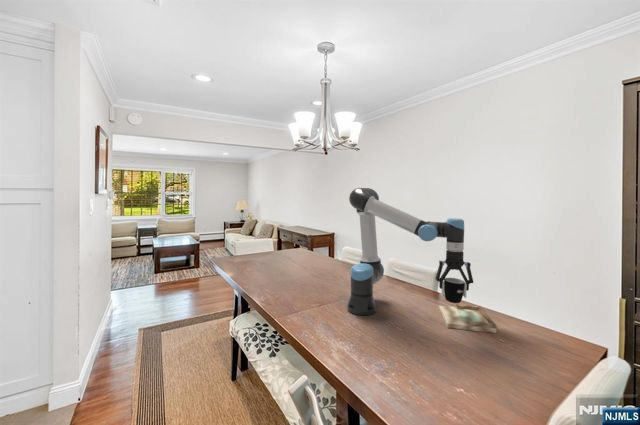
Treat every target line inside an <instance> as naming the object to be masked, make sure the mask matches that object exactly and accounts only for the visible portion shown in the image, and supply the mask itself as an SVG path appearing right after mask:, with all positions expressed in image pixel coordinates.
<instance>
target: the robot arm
mask: <svg viewBox="0 0 640 425" xmlns="http://www.w3.org/2000/svg"><path fill="white" fill-rule="evenodd" d="M348 200H349V203H350V206H352V207H353V208H354V209H355V210H356V214H358V215H359V223H360V224H359V226H360V239H361V240H360V242H361V252H362V256H361V258H360V260H359V263H356V264H354V265H353V266H351V268H350V295H349V299H348V301H347V306H346V308H347V311H348V312H349V313H351V314H354V315H357V316H371V315H373V314H375V313H376V312H377V305H376V302H375V298H374V285H375V284H376V283H377V282H380V280H382V278H383V276H384V274H385V267H384V265H383V264H382V261H381V260H382V259H381V258H380V257H379V256H378V255H379V254H378V241H377V226H376V217H378V218H380V219H381V220H383V221H387V223H390V224H392V225H394V226H397V227H399V228H401V229H403V230H405V231H407V232H409V233H411V234H413V235H416V236H417V237H419V239H420V240H422V241H423V242H431V241H434V240H435V239H436V238H446V245H445V248H446V251H445V260H438V268H437V272H436V274H435V280H436V281H437V282H438V283H439V285H438V287H439V289H441V290H440V291H441V292H440V295H441V296H442V297H445V294H444V279H445V278H447V275H448V274H449V272H450V271H451V270H452V271H454V270H456V271H459V273H460V275H461V277H462V278H463V279H462V280H463V281H464V282H465V286H464V293H463V298H465V299H466V298H467V291H469V289H470V284H474V278H473V275H472V274H473V273H472V270H471V263H470V262H469V261H467V262H466V261H464V250H465V248H464V246H465V245H464V244H465V243H464V242H465V220H464V219H462V218H447V220H446V222H442V221H441V222H439V221H430V220H429V221H425V220H422V219H420V218H417V217H416V216H414V215H411V214H409V213H407V212H405V211H403V210H400V209H398V208H396V207H394V206H392V205H389V204H387V203H385V202H383V201H380V197H379V194H378V192H377V191H376V190H374V189H373V188H369V187H356V188H355V189H353V190H352V191H351V192H350V194H349V196H348ZM445 264H446V268H445V269H444V271H443V267H444V265H445ZM463 266H464V267H465V269H466V273H467V276H466V274H465V272H464V270H463ZM467 277H468V278H467Z"/></svg>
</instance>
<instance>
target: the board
mask: <svg viewBox="0 0 640 425" xmlns="http://www.w3.org/2000/svg"><path fill="white" fill-rule="evenodd" d="M455 304H456V305H455V306H447V305H438V311H439V313H440V315H441V317H442V319H443V321H444V324H445V325H446V328H448V329H457V330H465V331H476V332H485V333H492V334H497V326H498V325H497V324H496V323H495V321H494V320H493V319H492V318H491V317H490V315H488V313H487V312H486V311H485V310H484V309H483V308H482V306H479V305H468V304H460V303H455Z"/></svg>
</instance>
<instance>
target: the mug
mask: <svg viewBox="0 0 640 425" xmlns="http://www.w3.org/2000/svg"><path fill="white" fill-rule="evenodd" d="M443 282H444V298H445V300H446V301H447V302H448V303H453V304H460V303H462V300H463V298H464V296H463V293H464V286H465V281H464V279H461V278H455V277H445V279H444V281H443Z"/></svg>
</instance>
